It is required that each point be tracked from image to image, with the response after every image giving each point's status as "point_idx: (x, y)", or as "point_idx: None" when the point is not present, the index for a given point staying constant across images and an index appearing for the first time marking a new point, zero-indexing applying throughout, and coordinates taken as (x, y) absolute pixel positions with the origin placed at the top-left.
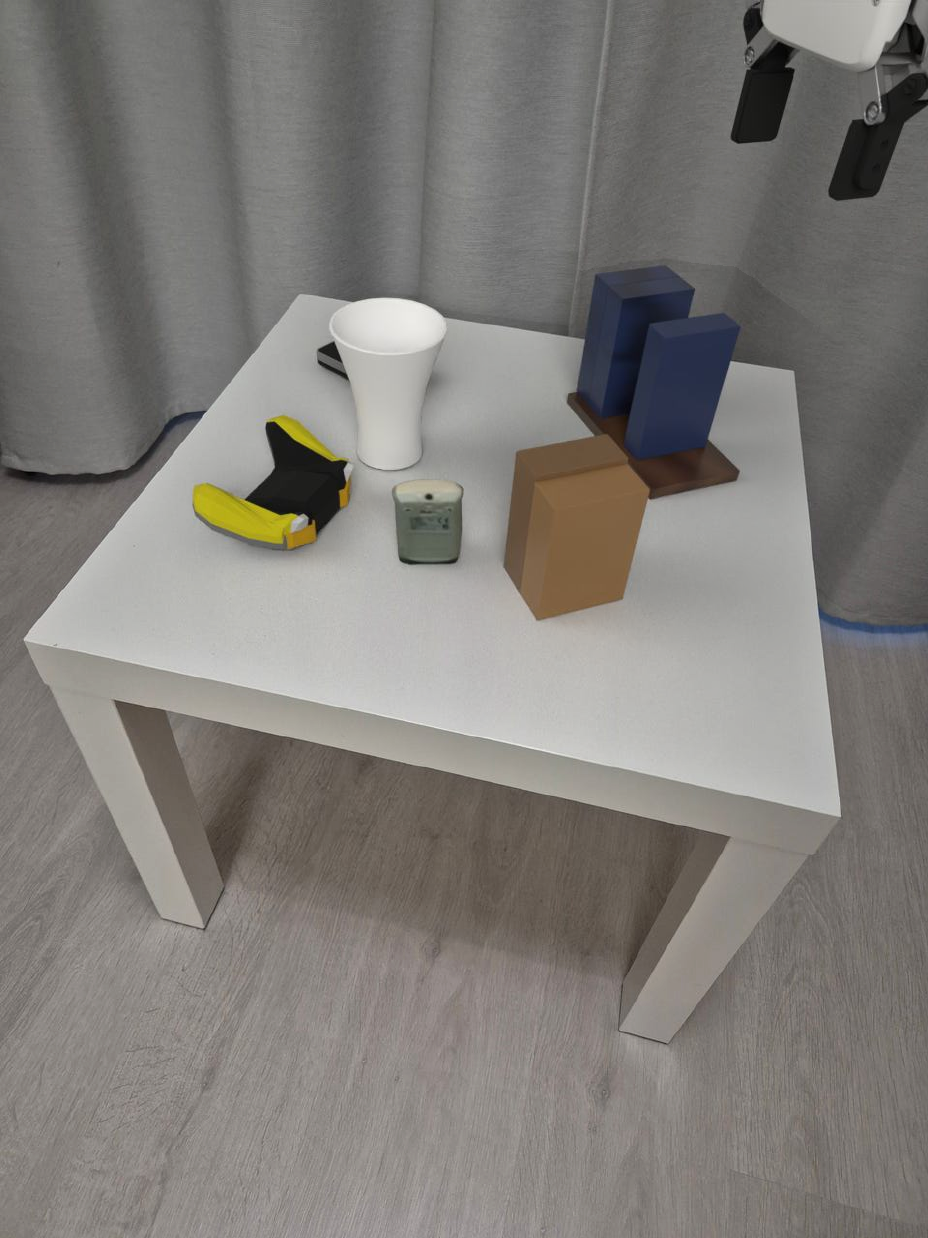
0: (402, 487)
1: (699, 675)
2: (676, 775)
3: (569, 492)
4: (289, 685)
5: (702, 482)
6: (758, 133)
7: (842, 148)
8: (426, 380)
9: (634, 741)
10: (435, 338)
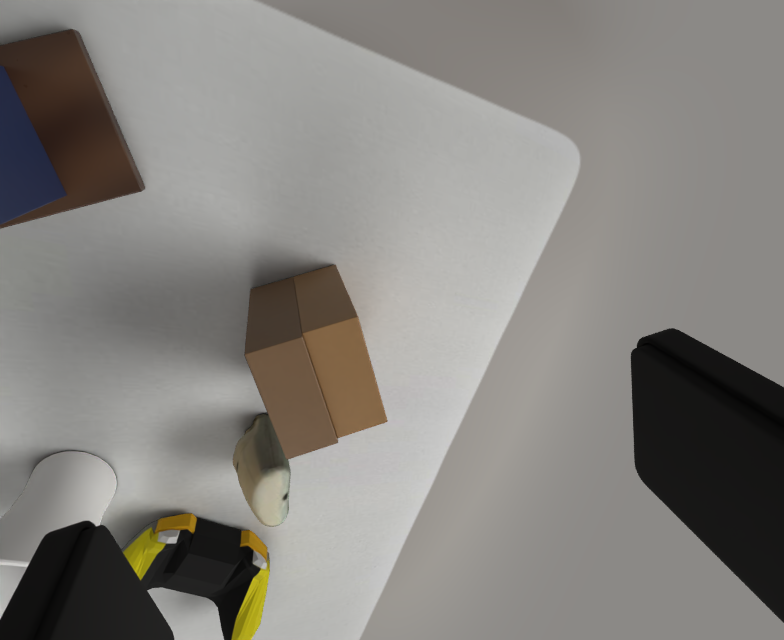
0: (272, 521)
1: (442, 213)
2: (536, 263)
3: (358, 405)
4: (410, 519)
5: (106, 102)
6: (137, 607)
7: (738, 573)
8: (55, 527)
9: (500, 288)
10: None
